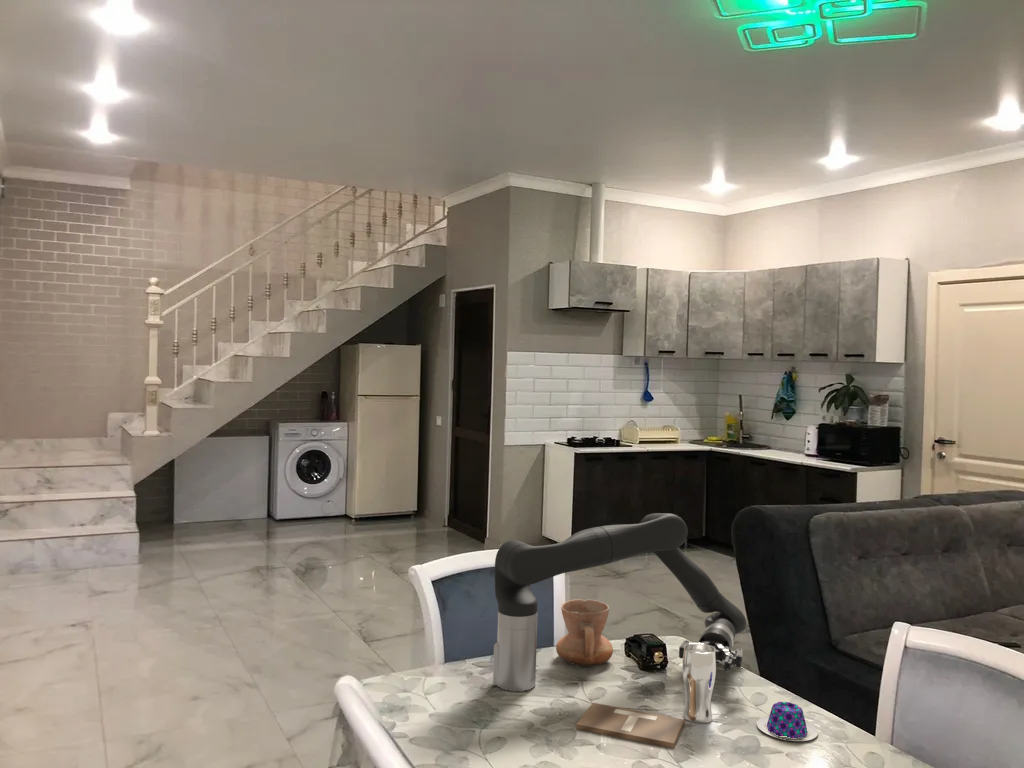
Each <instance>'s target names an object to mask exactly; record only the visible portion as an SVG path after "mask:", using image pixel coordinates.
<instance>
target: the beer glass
mask: <svg viewBox="0 0 1024 768" xmlns="http://www.w3.org/2000/svg"><path fill="white" fill-rule="evenodd" d="M716 674H717V663H716V656H715V648H714V647H712V646H710V645H707V644H702V643H698V642H691V643H690V642H689V644H686V645H685V646H684V654H683V658H682V679H683V686H684V687H683V688H684V695H685V703H684V709H683V715H682V716H683V719H685V721H688V722H690V723H694V724H700V725H701V724H703V725H704V724H709V723H711V722H712V721H713V712H712V711H713V710H712V698H713V697H712V695H713V691H714V688H715V687H714V686H715V681H716V676H717V675H716Z"/></svg>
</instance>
